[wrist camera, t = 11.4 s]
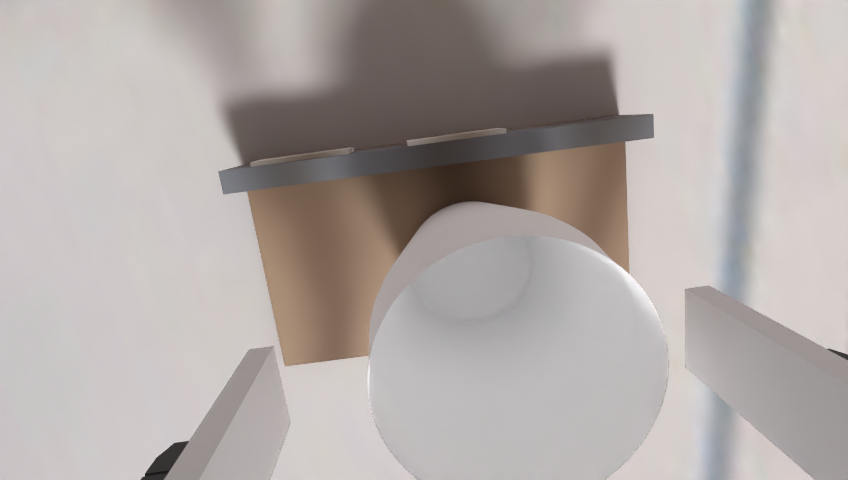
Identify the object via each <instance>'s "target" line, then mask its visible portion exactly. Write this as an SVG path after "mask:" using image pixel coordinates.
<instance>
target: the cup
mask: <svg viewBox="0 0 848 480" xmlns="http://www.w3.org/2000/svg"><path fill="white" fill-rule="evenodd" d="M668 368H669V360H668V348H667V342H666V336H665V333H664V329H663V326H662V323H661V321H660V318H659V316H658V313H657V311H656V309H655V307H654V306H653V304H652V302H651V300H650V299H649V297H648V296H647V294H646V293H645V292H644V290H643V289H642V287H641V286H640V285H639V284H638V283H637V282H636V281H635V280H634V278H633V277H632V276H631V275H629V274H628V273H627V272H626V271H625V270H624V269H623V268H622V267H620V266H619V265H618V264H617V263H616V262H614V261H613V260H612V259H611V258H610V257H608V256H607V254H606V253H605V252H604V251H603V250H602V249H601V248H600V247H599V246H598V245H597V244H596V243H595V242H594V241H593V240H592V239H590V238H589V237H588V236H586V235H585V234H584V233H582V232H581V231H580V230H578V229H576V228H574V227H573V226H571V225H569V224H567V223H565V222H563V221H560V220H558V219H556V218H554V217H551V216H548V215H545V214H542V213H539V212H534V211H530V210H525V209H520V208H514V207H509V206H503V205H497V204H491V203H485V202H478V201H468V202H460V203H456V204H452V205H450V206H447V207H445V208H443V209H441V210H439V211H437V212H436V213H434V214H433V215H432V216H430V217H429V218H428V219H427V220H426V221H425V222H424V223H423V224H422V225H421V226H420V228H419V229H418V231H417V232H416V233H415V235H414V236H413V238H412V239H411V240H410V242H409V243H408V245H407V246H406V247H405V249H404V250H403V252H402V253H401V254H400V256H399V257H398V259H397V260H396V261H395V263H394V264H393V266H392V267H391V269H390V270H389V272H388V274H387V276H386V277H385V279H384V281H383V283H382V285H381V288H380V290H379V292H378V295H377V297H376V300H375V303H374V307H373V311H372V315H371V320H370V330H369V361H368V395H369V402H370V407H371V411H372V415H373V418H374V421H375V423H376V426H377V428H378V431H379V433H380V435H381V437H382V439H383V440H384V442H385V444H386V445H387V447H388V449H389V450H390V451H391V453H392V454H393V455H394V457H395V458H396V459H397V460H398V461H399V463H400V464H401V465H402V466H403V467H404V468H405V469H406V470H407V471H408V472H410V473H411V474H412V475H413V476H414V477H415V478H417V479H418V480H604V479H606V478H607V477H609V476H610V475H611V474H612V473H614V472H615V471H616V470H618V469H619V468H620V467H621V466H622V465H623V464H624V463H625V462H626V461H627V460H628V459H629V458H630V457H631V456H632V455H633V454H634V453H635V451H636V450H637V449H638V448H639V446H640V445H641V444H642V442H643V441H644V440H645V438H646V437H647V435H648V433H649V432H650V430H651V428H652V427H653V425H654V423H655V421H656V418H657V416H658V414H659V411H660V409H661V406H662V403H663V400H664V396H665V392H666V387H667V381H668Z"/></svg>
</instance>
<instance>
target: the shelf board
mask: <svg viewBox="0 0 848 480" xmlns="http://www.w3.org/2000/svg"><path fill="white" fill-rule="evenodd" d="M648 138H654V124H653V114H643V115H616V116H609V117H601V118H593V119H586V120H578V121H571V122H563V123H556V124H548V125H540V126H533V127H525V128H518V129H510V130H506V128H493V129H486V130H478V131H471V132H463V133H456V134H448V135H440V136H433V137H425V138H418V139H410V140H407V143H404V144H396V145H389V146H381V147H374V148H366V149H359V150H354V147H350V148H342V149H334V150H327V151H319V152H312V153H304V154H297V155H289V156H281V157H274V158H266V159H261V160H257V161H253V162H250V164H245V165H241V166H238V167H234V168H230V169H226V170H223V171H219V177H220V181H221V186H222V190H223V194H229V193H237V192H245V191H247V193H248V197H249V202H250V206H251V211H252V216H253V220H254V225H255V230H256V234H257V239H258V244H259V248H260V253H261V257H262V262H263V267H264V271H265V276H266V281H267V285H268V290H269V295H270V299H271V304H272V308H273V313H274V318H275V322H276V327H277V332H278V336H279V341H280V346H281V350H282V355H283V359H284V364H285V366H291V365H299V364H306V363H314V362H322V361H330V360H338V359H346V358H353V357H361V356H369V330H370V320H371V315H372V311H373V307H374V303H375V300H376V297H377V295H378V292H379V290H380V288H381V285H382V283H383V281H384V279H385V277H386V276H387V274H388V272H389V270H390V269H391V267H392V266H393V264H394V263H395V261H396V260H397V259H398V257H399V256H400V254H401V253H402V252H403V250H404V249H405V247H406V246H407V245H408V243H409V242H410V240H411V239H412V238H413V236H414V235H415V233H416V232H417V231H418V229H419V228H420V226H421V225H422V224H423V223H424V222H425V221H426V220H427V219H428V218H429V217H430V216H432V215H433V214H434V213H436V212H437V211H439V210H441V209H443V208H445V207H447V206H450V205H452V204H456V203H460V202H468V201H478V202H485V203H491V204H497V205H503V206H509V207H514V208H520V209H525V210H530V211H534V212H539V213H542V214H545V215H548V216H551V217H554V218H556V219H558V220H560V221H563V222H565V223H567V224H569V225H571V226H573V227H574V228H576V229H578V230H580V231H581V232H582V233H584V234H585V235H586V236H588V237H589V238H590V239H592V240H593V241H594V242H595V243H596V244H597V245H598V246H599V247H600V248H601V249H602V250H603V251H604V252H605V253H606V254H607V256H608V257H610V258H611V259H612V260H613V261H614V262H616V263H617V264H618V265H619V266H620V267H622V268H623V269H624V270H625V271H626V272H627V273H628V274H629V252H628V219H627V186H626V153H625V141H633V140H640V139H648Z"/></svg>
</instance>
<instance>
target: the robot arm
mask: <svg viewBox="0 0 848 480" xmlns="http://www.w3.org/2000/svg"><path fill="white" fill-rule="evenodd" d="M685 367H686V368H687V369H688V370H689V371H690V372H691V373H692V374H694V375H695V376H696V377H697V378H698V379H699V380H701V381H702V382H703V383H704V384H705V385H706V386H707V387H709V388H710V389H711V390H712V391H713V392H714V393H716V394H717V395H718V396H719V397H720V398H721V399H722V400H724V401H725V402H726V403H727V404H728V405H729V406H730V407H732V408H733V409H734V410H735V411H736V412H737V413H739V414H740V415H741V416H742V417H743V418H744V419H745V420H747V421H748V422H749V423H750V424H751V425H752V426H754V427H755V428H756V429H757V430H758V431H759V432H760V433H762V434H763V435H764V436H765V437H766V438H767V439H768V440H770V441H771V442H772V443H773V444H774V445H775V446H777V447H778V448H779V449H780V450H781V451H782V452H783V453H785V454H786V455H787V456H788V457H789V458H790V459H792V460H793V461H794V462H795V463H796V464H797V465H798V466H800V467H801V468H802V469H803V470H804V471H805V472H807V473H808V474H809V475H810V476H811V477H812V478H813V479H815V480H848V355H847V354H844V353H841V352H838V351H835V350H831V349H826V348H824V347H822V346H820V345H818V344H816V343H815V342H813V341H811V340H809V339H807V338H805V337H803V336H802V335H800V334H798V333H796V332H794V331H792V330H790V329H789V328H787V327H785V326H783V325H781V324H779V323H777V322H776V321H774V320H772V319H770V318H768V317H766V316H764V315H762V314H761V313H759V312H757V311H755V310H753V309H751V308H749V307H748V306H746V305H744V304H742V303H740V302H738V301H736V300H735V299H733V298H731V297H729V296H727V295H725V294H723V293H722V292H720V291H718V290H716V289H714V288H712V287H710V286H702V287H695V288H688V289H685ZM289 426H290V419H289V414H288V409H287V405H286V400H285V396H284V391H283V387H282V382H281V378H280V373H279V369H278V364H277V360H276V355H275V351H274V346H271V347H264V348H257V349H250V350H249V351H248V352H247V354H246V355H245V357H244V358H243V360H242V361H241V363H240V364H239V366H238V367H237V369H236V370H235V372H234V373H233V375H232V377H231V378H230V380H229V381H228V383H227V384H226V386H225V387H224V389H223V390H222V392H221V393H220V395H219V396H218V398H217V399H216V401H215V402H214V404H213V406H212V407H211V409H210V410H209V412H208V413H207V415H206V416H205V418H204V419H203V421H202V422H201V424H200V425H199V427H198V428H197V430H196V432H195V433H194V435H193V436H192V438H191V439H190V441H186V442H178V443H174V444H173V445H172V446H170V447H169V448H168V449H167V450H166V451H164V452H163V453H162V454H161V455H159V456H158V457H157V458H156V459H155V461H154V462H153V463H152V465H151V466H150V468H149V469H148V470H147V472H146V473H145V477H142V479H141V480H270V478H271V476H272V473H273V470H274V467H275V465H276V462H277V459H278V456H279V453H280V451H281V448H282V445H283V442H284V440H285V437H286V434H287V431H288V428H289Z"/></svg>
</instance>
